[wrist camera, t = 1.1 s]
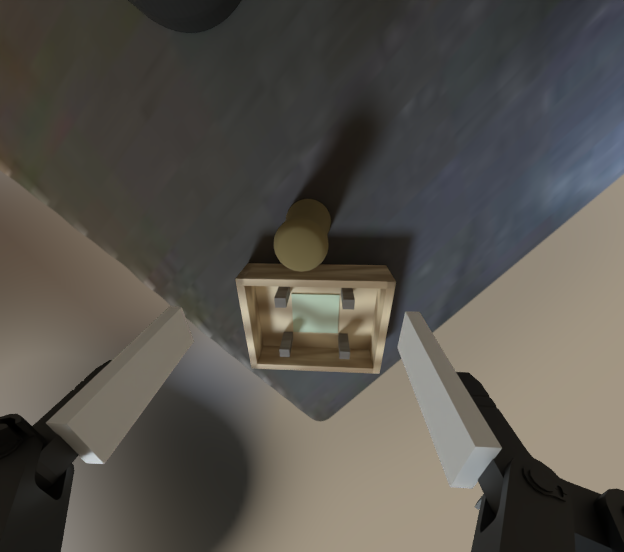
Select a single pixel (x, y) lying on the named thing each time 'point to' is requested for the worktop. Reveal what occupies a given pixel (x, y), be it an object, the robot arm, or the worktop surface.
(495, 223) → the worktop surface
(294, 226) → the cork
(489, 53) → the worktop surface
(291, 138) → the worktop surface
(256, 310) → the socket box
